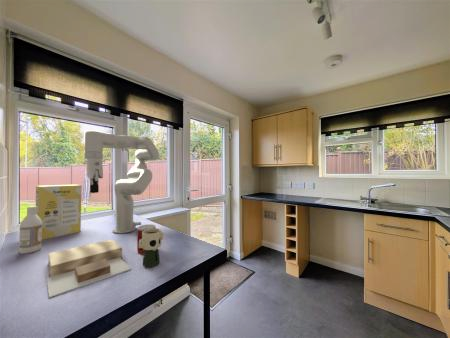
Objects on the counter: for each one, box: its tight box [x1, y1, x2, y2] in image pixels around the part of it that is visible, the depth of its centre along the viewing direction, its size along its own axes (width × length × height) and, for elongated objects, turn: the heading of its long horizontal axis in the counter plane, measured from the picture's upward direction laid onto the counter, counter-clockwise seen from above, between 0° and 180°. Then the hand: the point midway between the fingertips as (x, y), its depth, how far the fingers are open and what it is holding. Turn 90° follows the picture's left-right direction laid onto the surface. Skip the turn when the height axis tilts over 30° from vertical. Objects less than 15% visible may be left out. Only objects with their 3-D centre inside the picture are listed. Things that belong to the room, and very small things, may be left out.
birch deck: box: [48, 238, 123, 277], centre depth 76 cm, size 22×14×4 cm, turn 136°
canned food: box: [136, 224, 157, 255], centre depth 85 cm, size 8×8×11 cm
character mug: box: [139, 228, 164, 268], centre depth 73 cm, size 11×7×13 cm, turn 149°
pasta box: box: [35, 184, 83, 240], centre depth 108 cm, size 18×10×28 cm, turn 142°
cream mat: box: [46, 257, 132, 299], centre depth 65 cm, size 22×13×1 cm, turn 136°
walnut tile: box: [75, 259, 110, 283], centre depth 65 cm, size 9×7×2 cm
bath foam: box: [18, 205, 43, 255], centre depth 84 cm, size 7×7×20 cm
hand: (94, 192), depth 93 cm, fingers closed
